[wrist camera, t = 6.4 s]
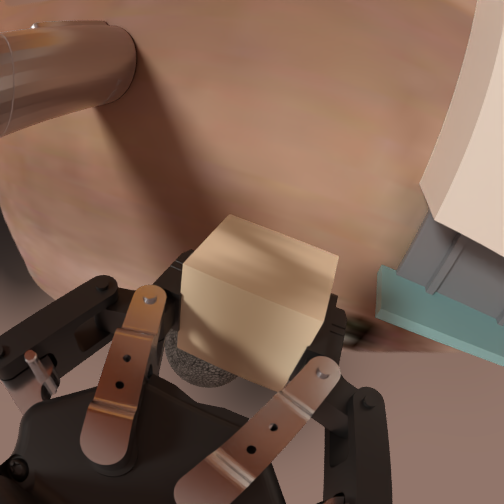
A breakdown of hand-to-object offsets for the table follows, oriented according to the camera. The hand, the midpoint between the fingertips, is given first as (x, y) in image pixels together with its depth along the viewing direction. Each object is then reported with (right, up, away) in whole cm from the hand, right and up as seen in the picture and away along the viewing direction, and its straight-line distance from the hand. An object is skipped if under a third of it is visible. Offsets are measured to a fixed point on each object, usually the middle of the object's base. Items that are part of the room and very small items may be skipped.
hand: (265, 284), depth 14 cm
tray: (+22, +2, +7) cm, 23 cm away
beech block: (0, 0, 0) cm, 1 cm away
